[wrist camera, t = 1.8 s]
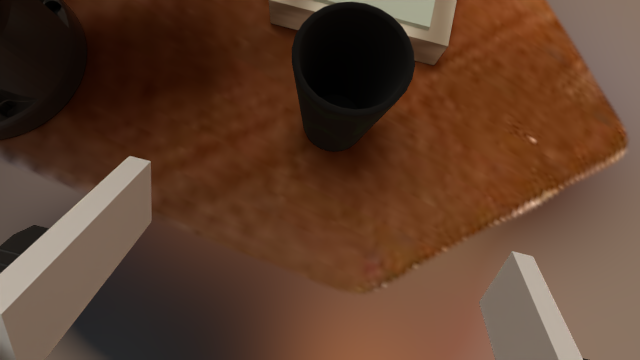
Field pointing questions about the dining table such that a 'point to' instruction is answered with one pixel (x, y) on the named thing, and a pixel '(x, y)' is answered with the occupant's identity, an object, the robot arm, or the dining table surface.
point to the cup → (349, 71)
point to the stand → (401, 3)
